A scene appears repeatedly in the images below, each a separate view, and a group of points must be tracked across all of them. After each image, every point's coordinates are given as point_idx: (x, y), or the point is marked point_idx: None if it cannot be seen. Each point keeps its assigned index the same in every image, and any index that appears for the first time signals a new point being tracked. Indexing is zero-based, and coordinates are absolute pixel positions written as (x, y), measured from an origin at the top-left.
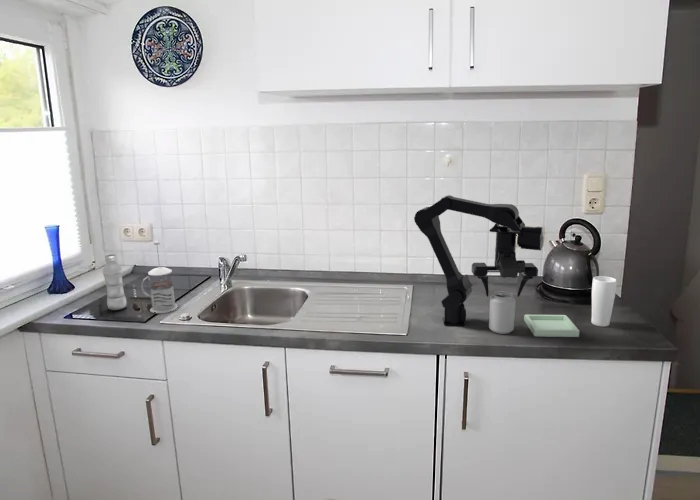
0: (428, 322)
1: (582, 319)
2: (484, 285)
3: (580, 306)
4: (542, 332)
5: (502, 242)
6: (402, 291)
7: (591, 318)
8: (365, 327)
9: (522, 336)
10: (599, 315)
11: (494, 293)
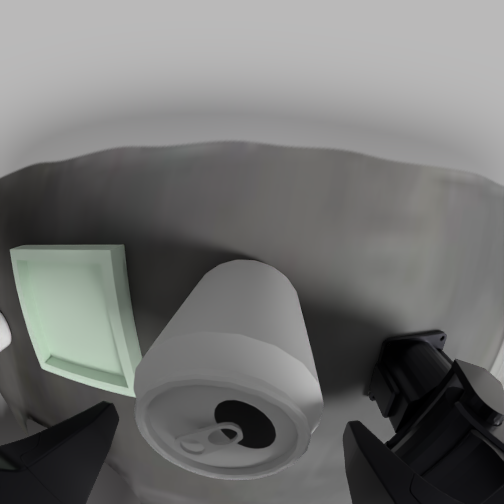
0: (469, 350)
1: (27, 358)
2: (424, 482)
3: (45, 417)
4: (91, 248)
5: None
6: None
7: (4, 338)
8: None
9: (167, 243)
10: None
11: (282, 460)
